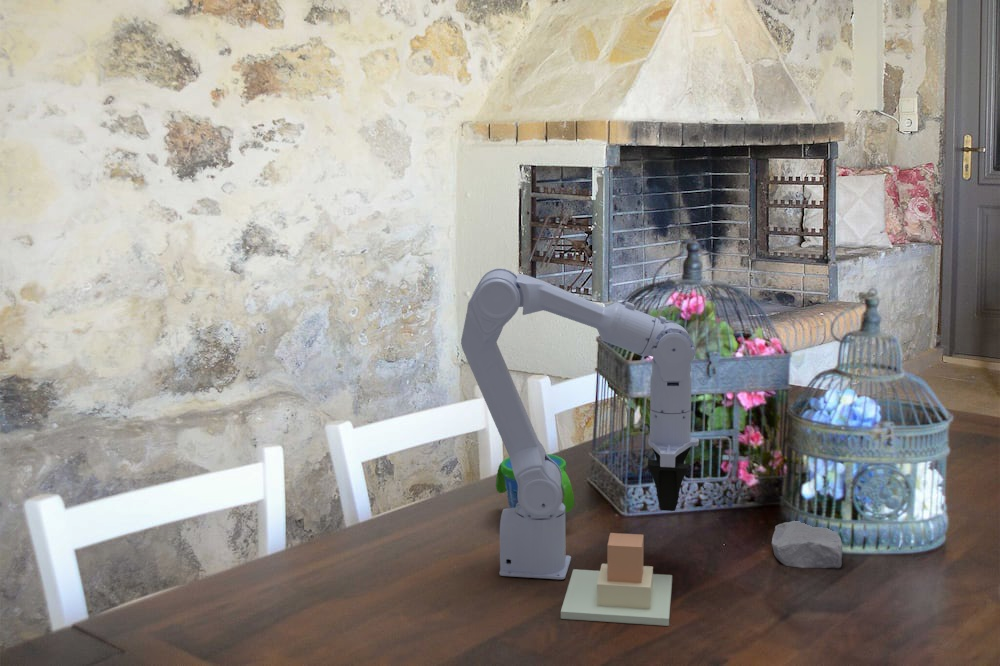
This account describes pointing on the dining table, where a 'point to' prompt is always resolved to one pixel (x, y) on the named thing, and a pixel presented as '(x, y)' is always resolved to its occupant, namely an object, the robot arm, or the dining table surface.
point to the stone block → (807, 546)
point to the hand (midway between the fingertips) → (669, 500)
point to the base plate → (592, 612)
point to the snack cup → (509, 484)
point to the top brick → (625, 557)
